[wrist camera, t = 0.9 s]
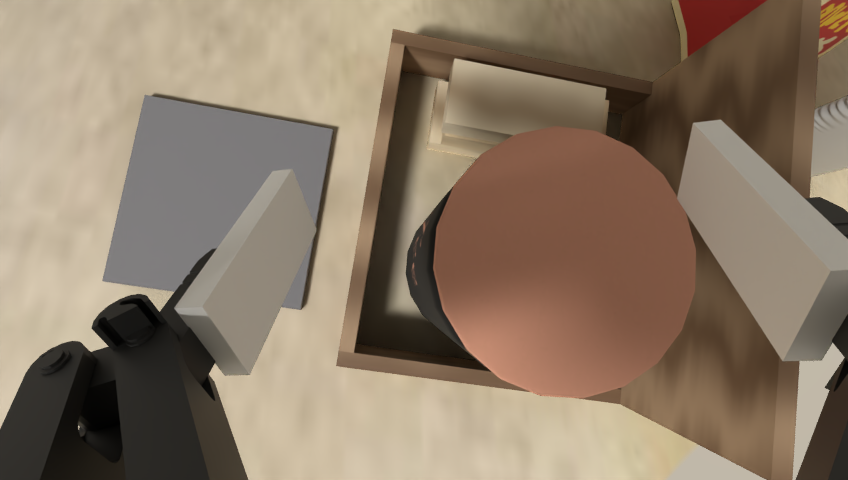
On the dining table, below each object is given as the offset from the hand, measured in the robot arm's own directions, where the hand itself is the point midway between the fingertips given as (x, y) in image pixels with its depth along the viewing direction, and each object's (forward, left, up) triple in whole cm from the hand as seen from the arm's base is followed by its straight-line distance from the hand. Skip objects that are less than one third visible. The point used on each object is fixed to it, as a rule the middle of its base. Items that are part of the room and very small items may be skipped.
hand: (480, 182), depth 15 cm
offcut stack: (-10, +6, -20) cm, 23 cm away
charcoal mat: (0, -15, -20) cm, 25 cm away
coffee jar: (+2, +4, -20) cm, 20 cm away
